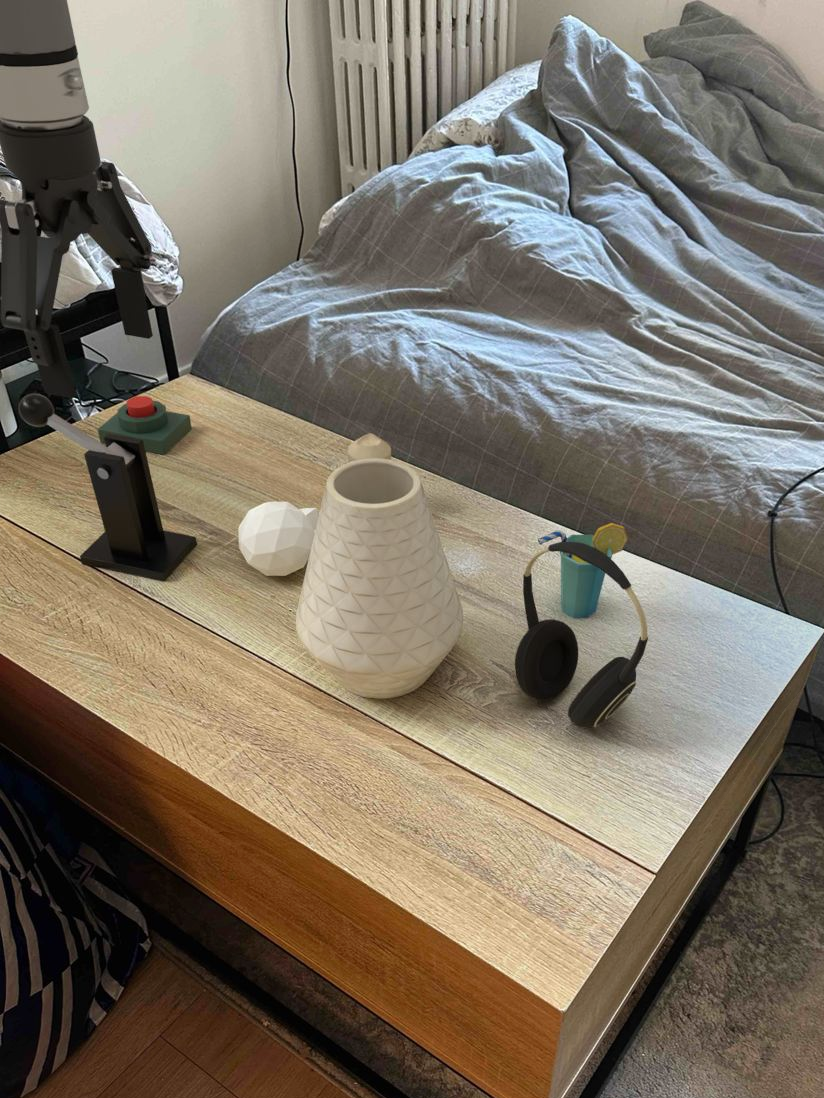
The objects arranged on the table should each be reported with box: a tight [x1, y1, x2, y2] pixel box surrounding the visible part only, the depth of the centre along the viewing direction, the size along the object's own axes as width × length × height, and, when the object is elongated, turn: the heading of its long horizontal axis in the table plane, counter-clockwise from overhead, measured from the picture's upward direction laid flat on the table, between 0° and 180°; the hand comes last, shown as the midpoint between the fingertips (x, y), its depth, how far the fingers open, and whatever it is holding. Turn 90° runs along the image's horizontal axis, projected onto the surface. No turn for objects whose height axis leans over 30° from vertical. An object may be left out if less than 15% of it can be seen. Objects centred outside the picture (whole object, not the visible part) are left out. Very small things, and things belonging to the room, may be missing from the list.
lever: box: [18, 393, 135, 472], centre depth 109 cm, size 13×4×4 cm, turn 75°
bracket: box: [79, 433, 198, 582], centre depth 113 cm, size 11×8×15 cm
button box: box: [97, 400, 193, 456], centre depth 138 cm, size 10×8×4 cm
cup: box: [537, 522, 629, 619], centre depth 110 cm, size 11×6×12 cm, turn 117°
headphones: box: [514, 541, 649, 729], centre depth 95 cm, size 9×15×20 cm, turn 49°
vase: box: [295, 458, 465, 700], centre depth 98 cm, size 18×17×23 cm
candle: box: [346, 432, 392, 463], centre depth 125 cm, size 6×6×10 cm
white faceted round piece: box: [237, 501, 319, 577], centre depth 116 cm, size 9×9×12 cm
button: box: [125, 395, 155, 418], centre depth 136 cm, size 4×4×2 cm
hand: (102, 363), depth 93 cm, fingers open, 13 cm apart
